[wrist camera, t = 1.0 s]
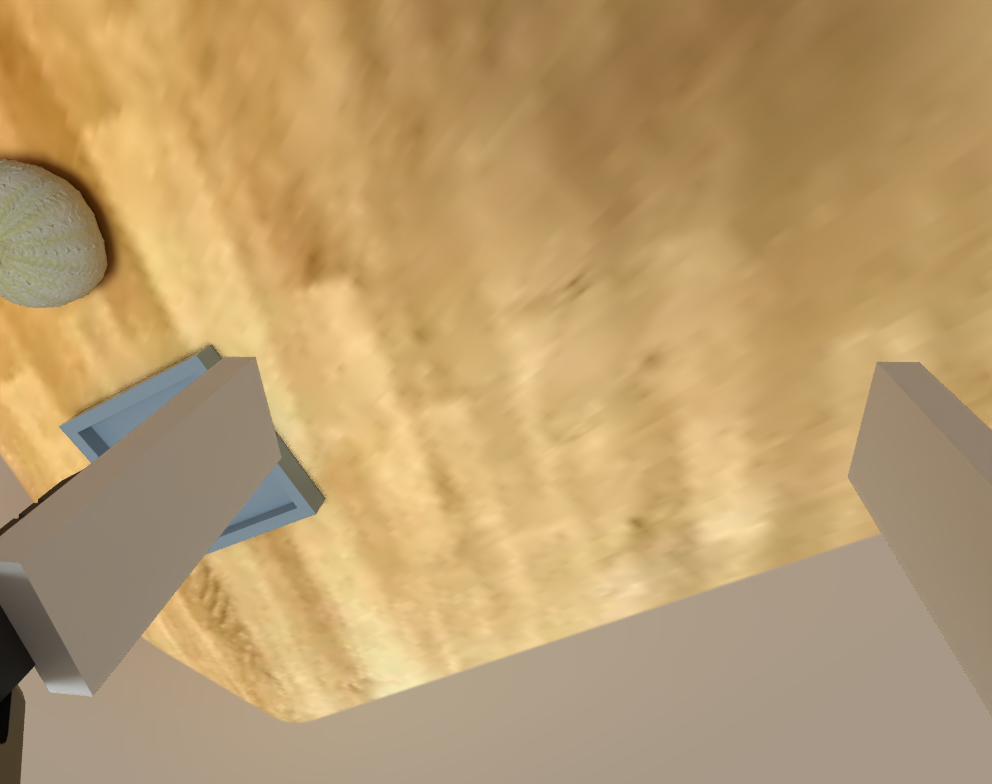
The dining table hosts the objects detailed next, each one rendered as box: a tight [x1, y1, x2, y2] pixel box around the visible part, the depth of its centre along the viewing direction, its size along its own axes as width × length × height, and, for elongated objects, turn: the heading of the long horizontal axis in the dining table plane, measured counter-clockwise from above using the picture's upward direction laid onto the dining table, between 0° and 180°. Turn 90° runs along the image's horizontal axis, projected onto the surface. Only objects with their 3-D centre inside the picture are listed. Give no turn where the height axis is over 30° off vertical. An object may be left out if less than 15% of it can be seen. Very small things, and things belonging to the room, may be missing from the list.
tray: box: [59, 345, 325, 555], centre depth 46 cm, size 14×14×2 cm
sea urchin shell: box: [0, 158, 108, 308], centre depth 39 cm, size 9×8×8 cm
